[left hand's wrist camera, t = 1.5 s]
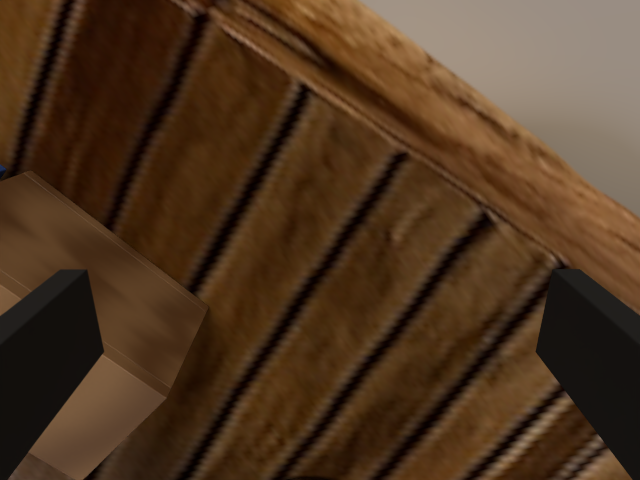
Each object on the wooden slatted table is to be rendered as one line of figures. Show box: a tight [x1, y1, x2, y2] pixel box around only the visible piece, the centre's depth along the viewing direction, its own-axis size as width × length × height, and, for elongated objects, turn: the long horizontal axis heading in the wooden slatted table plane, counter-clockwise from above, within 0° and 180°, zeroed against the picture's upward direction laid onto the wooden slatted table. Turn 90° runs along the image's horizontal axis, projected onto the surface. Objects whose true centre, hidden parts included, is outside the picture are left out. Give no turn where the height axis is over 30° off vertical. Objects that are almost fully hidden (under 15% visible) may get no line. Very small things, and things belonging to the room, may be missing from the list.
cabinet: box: [0, 170, 209, 480], centre depth 33 cm, size 18×10×12 cm, turn 47°
